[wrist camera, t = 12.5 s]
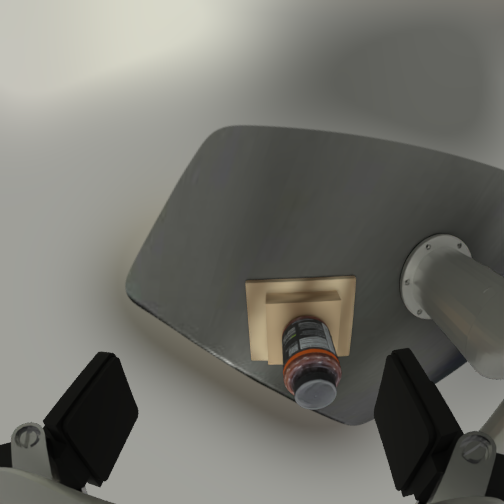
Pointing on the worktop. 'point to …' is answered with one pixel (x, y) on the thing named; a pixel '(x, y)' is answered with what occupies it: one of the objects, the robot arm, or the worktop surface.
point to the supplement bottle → (310, 362)
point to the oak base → (297, 286)
